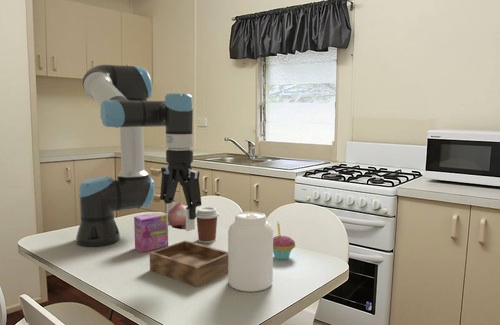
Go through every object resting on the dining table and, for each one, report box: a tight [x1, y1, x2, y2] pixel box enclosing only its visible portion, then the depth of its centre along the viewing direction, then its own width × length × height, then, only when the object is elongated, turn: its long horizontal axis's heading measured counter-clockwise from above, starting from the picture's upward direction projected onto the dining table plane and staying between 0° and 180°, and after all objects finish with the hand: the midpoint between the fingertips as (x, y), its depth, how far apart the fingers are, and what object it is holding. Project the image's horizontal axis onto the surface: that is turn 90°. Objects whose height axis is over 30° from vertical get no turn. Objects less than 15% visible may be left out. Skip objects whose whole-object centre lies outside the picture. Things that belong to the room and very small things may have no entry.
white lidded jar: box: [227, 211, 274, 293], centre depth 113 cm, size 12×12×20 cm
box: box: [133, 211, 169, 253], centre depth 143 cm, size 10×6×12 cm, turn 131°
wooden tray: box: [149, 240, 228, 288], centre depth 123 cm, size 20×15×6 cm
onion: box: [168, 203, 188, 230], centre depth 117 cm, size 8×8×7 cm
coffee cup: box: [196, 206, 220, 244], centre depth 151 cm, size 9×9×12 cm
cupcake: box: [273, 222, 296, 261], centre depth 134 cm, size 9×8×12 cm
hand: (180, 227), depth 117 cm, fingers closed on onion, 8 cm apart
